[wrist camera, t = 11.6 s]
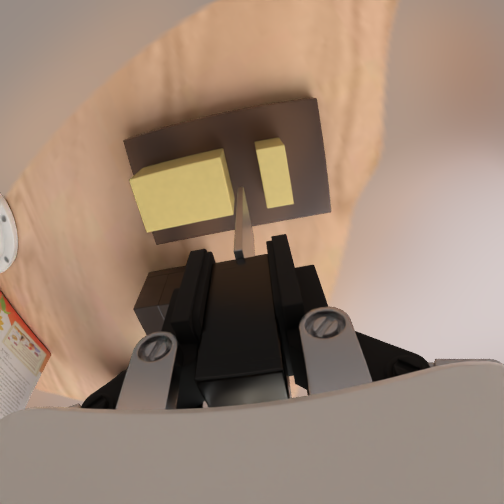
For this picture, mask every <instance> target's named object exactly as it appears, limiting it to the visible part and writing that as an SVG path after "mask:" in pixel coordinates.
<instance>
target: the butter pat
mask: <svg viewBox="0 0 504 504" xmlns="http://www.w3.org/2000/svg"><path fill="white" fill-rule="evenodd" d="M255 148H256V153H257V158H258V163H259V169H260V174H261V179H262V184H263V189H264V195H265V200H266V205H267V208H273V207H279V206H284V205H290V204H294V201H293V194H292V188H291V182H290V175H289V169H288V163H287V157H286V151H285V145H284V144H283V143H282V141H281V140H280V138H273V139H267V140H262V141H256V142H255Z"/></svg>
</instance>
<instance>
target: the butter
mask: <svg viewBox="0 0 504 504" xmlns="http://www.w3.org/2000/svg"><path fill="white" fill-rule="evenodd" d="M129 181H130V184H131V187H132V190H133V194H134V197H135V200H136V203H137V206H138V209H139V212H140V215H141V217H142V220H143V223H144V226H145V229H146V232H147V233H148V232H152V231H157V230H162V229H166V228H171V227H176V226H180V225H185V224H190V223H195V222H200V221H205V220H210V219H215V218H220V217H225V216H230V215H233V214H234V201H235V198H234V193H233V189H232V185H231V180H230V176H229V171H228V167H227V163H226V158H225V154H224V149H223V148H221V149H217V150H212V151H208V152H203V153H199V154H195V155H190V156H186V157H182V158H178V159H174V160H170V161H166V162H162V163H159V164H155V165H151V166H148V167H144V168H142V169H141V170H140V171H139V172H137V173H136V174H135V175H134V176H133V177H132V178H131V179H129Z"/></svg>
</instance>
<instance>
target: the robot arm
mask: <svg viewBox="0 0 504 504" xmlns="http://www.w3.org/2000/svg"><path fill="white" fill-rule="evenodd" d="M266 244H267V252H268V260H269V268H270V276H271V284H272V292H273V300H274V307H275V313H276V318H278V320H279V326H280V331H281V336H282V342H283V347H284V352H285V358H286V363H287V368H288V374H289V376H293V375H294V379H295V384H297V385H299V386H301V387H303V388H305V389H306V390H307V395H308V396H303V397H296V398H290V399H283V400H276V401H269V402H261V403H253V404H244V405H234V406H223V407H210V408H208V405H207V404H206V402H205V400H204V398H203V396H202V395H201V393H200V391H199V389H198V387H197V385H196V383H195V381H194V377H195V370H196V363H197V356H198V349H199V342H200V335H201V329H202V324H203V318H204V311H205V305H206V298H207V292H208V286H209V280H210V273H211V267H212V264H213V263H215V260H214V256H213V253H212V252H207V250H206V249H201V250H196V251H191V252H190V254H189V258H188V261H187V264H186V268H185V271H184V275H183V278H182V282H181V285H180V288H175V289H174V290H173V293H172V296H171V299H170V303H169V306H168V309H167V313H166V316H165V320H164V323H163V326H162V330H161V332H155V333H151V334H149V335H147V336H145V337H144V338H142V339H141V340H140V341H139V342H138V343H137V344H136V346H135V348H134V350H133V353H132V356H131V359H130V363H129V366H128V369H127V370H125V371H124V372H123V373H121V374H120V375H118V376H117V377H116V378H114V379H113V380H111V381H110V382H108V383H107V384H106V385H104V386H103V387H101V388H100V389H99V390H97V391H96V392H94V393H93V394H91V395H90V396H89V397H88V398H87V399H86V400H85V401H84V403H83V404H82V406H80V404H76V405H73V406H70V407H34V408H27V409H23V410H19V411H16V412H13V413H11V414H8V415H7V416H5V417H3V418H2V419H1V420H0V504H504V364H502V363H500V362H498V361H497V360H493V359H435V361H434V363H428V362H427V361H426V360H425V359H424V358H423V357H421V356H419V355H417V354H415V353H412V352H409V351H407V350H404V349H401V348H399V347H396V346H393V345H390V344H388V343H385V342H383V341H380V340H377V339H374V338H372V337H369V336H367V335H364V334H362V333H359V332H356V331H355V330H354V328H353V325H352V322H351V319H350V318H349V316H348V315H347V313H345V312H344V311H343V310H341V309H338V308H335V307H328V304H327V301H326V298H325V296H324V293H323V290H322V287H321V284H320V281H319V278H318V275H317V272H316V269H315V267H314V265H309V266H303V267H297V268H295V267H294V263H293V259H292V255H291V251H290V247H289V243H288V239H287V236H286V234H284V235H278V236H272V241H267V242H266ZM17 250H18V235H17V229H16V224H15V220H14V218H13V215H12V212H11V210H10V208H9V206H8V204H7V202H6V200H5V199H4V197H3V196H2V194H1V193H0V273H2V272H4V271H5V270H7V269H8V268H9V267H10V266H11V264H12V263H13V262H14V260H15V258H16V255H17Z"/></svg>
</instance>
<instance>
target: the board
mask: <svg viewBox="0 0 504 504" xmlns="http://www.w3.org/2000/svg"><path fill="white" fill-rule="evenodd" d="M273 138H280V140H281V141H282V143H283V144H284V145H285V151H286V157H287V163H288V169H289V175H290V182H291V188H292V194H293V201H294V204H290V205H284V206H279V207H273V208H267V205H266V200H265V195H264V189H263V184H262V179H261V174H260V169H259V163H258V158H257V153H256V148H255V142H256V141H262V140H267V139H273ZM124 145H125V148H126V152H127V155H128V159H129V162H130V166H131V169H132V172H133V175H135V174H136V173H137V172H139V171H140V170H141V169H142V168H144V167H148V166H151V165H155V164H159V163H162V162H166V161H170V160H174V159H178V158H182V157H186V156H190V155H195V154H199V153H203V152H208V151H212V150H217V149H221V148H223V149H224V154H225V158H226V163H227V167H228V171H229V176H230V180H231V185H232V189H233V193H234V198H235V201H234V214H233V215H230V216H225V217H220V218H215V219H210V220H205V221H200V222H195V223H190V224H185V225H180V226H176V227H171V228H166V229H162V230H157V231H152V233H153V236H154V239H155V242H156V244H157V245H158V244H163V243H168V242H173V241H178V240H183V239H188V238H193V237H198V236H203V235H209V234H214V233H219V232H224V231H229V230H235V223H236V208H237V193H238V187H243V188H244V192H245V197H246V202H247V206H248V211H249V216H250V220H251V225H252V226H256V225H262V224H267V223H273V222H278V221H284V220H289V219H295V218H301V217H306V216H312V215H318V214H324V213H330V212H331V204H330V194H329V184H328V176H327V167H326V159H325V151H324V144H323V137H322V130H321V123H320V116H319V110H318V104H317V99H316V98H306V99H298V100H291V101H284V102H277V103H271V104H265V105H259V106H254V107H248V108H243V109H238V110H233V111H228V112H224V113H219V114H214V115H210V116H206V117H201V118H197V119H193V120H189V121H185V122H181V123H178V124H174V125H170V126H167V127H163V128H159V129H156V130H153V131H149V132H146V133H143V134H139V135H136V136H133V137H130V138H128V139H125V140H124Z"/></svg>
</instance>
